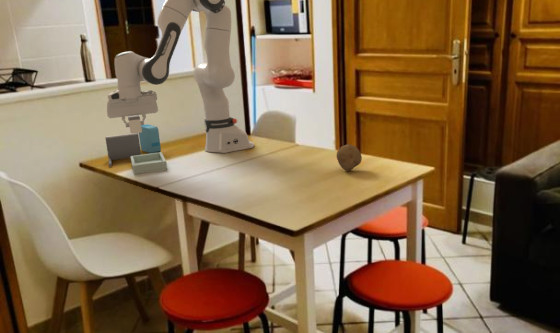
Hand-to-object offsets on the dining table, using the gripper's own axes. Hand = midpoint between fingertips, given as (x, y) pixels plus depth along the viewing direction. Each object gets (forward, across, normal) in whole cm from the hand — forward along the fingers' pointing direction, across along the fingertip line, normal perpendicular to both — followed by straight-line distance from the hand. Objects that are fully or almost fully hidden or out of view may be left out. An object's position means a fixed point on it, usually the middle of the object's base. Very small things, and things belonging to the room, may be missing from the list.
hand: (135, 126), depth 215 cm
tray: (+17, -3, +6) cm, 18 cm away
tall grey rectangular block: (+2, 0, 0) cm, 2 cm away
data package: (+17, -6, -23) cm, 29 cm away
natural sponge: (+18, -72, +52) cm, 91 cm away
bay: (+17, +6, -10) cm, 20 cm away
